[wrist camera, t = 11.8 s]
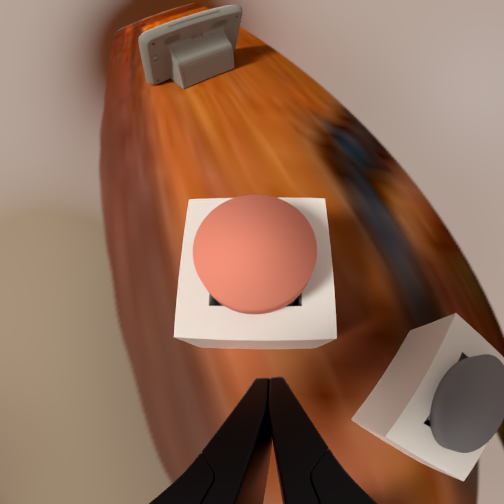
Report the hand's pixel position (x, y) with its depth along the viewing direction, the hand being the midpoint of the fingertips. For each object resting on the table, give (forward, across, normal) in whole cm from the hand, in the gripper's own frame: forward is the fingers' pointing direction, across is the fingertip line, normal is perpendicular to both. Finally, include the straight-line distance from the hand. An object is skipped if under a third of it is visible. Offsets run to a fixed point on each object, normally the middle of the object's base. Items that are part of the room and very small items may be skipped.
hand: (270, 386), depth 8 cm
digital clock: (+37, +9, -23) cm, 45 cm away
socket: (+8, -12, +13) cm, 19 cm away
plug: (+8, -12, +12) cm, 19 cm away
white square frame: (+14, +1, +4) cm, 15 cm away
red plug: (+13, +1, +3) cm, 14 cm away
